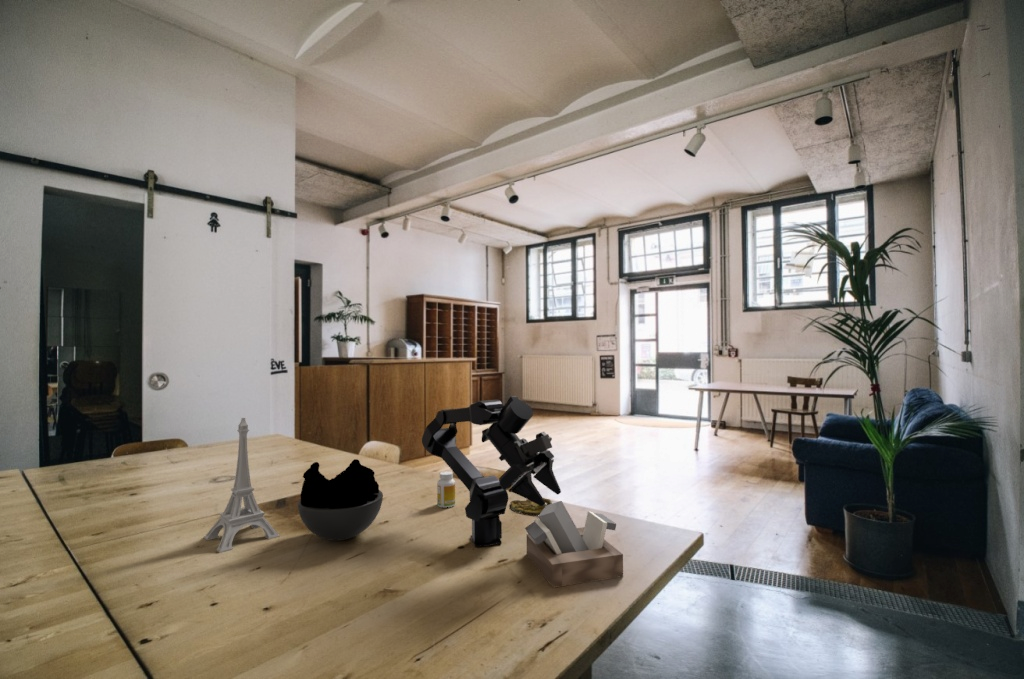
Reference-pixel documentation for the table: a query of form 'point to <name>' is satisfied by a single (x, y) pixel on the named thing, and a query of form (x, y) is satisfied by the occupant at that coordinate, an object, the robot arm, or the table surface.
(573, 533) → the grey stone block
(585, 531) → the panel
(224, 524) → the eiffel tower
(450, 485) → the supplement bottle
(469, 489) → the robot arm
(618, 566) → the box
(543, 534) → the near trapdoor leaf
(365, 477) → the coal bowl
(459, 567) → the table surface
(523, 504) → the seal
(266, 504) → the table surface
